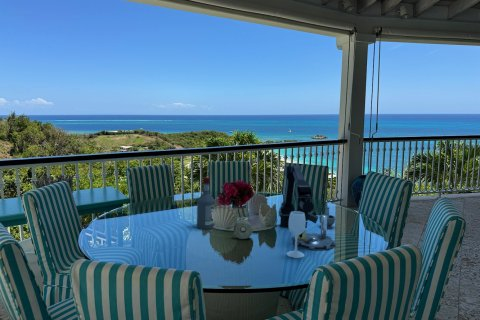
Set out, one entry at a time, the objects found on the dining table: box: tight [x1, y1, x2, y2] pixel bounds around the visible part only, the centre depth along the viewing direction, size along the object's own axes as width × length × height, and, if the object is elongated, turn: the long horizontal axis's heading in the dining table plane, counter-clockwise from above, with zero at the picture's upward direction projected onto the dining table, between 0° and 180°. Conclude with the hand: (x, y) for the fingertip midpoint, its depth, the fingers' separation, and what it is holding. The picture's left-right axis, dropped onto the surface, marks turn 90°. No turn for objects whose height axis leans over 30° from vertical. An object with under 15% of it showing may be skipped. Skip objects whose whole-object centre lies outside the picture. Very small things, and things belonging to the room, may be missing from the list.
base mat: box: [291, 240, 336, 252], centre depth 203 cm, size 22×22×1 cm
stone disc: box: [233, 219, 254, 240], centre depth 207 cm, size 10×4×10 cm, turn 86°
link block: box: [297, 230, 307, 240], centre depth 201 cm, size 5×4×4 cm
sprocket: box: [291, 214, 336, 250], centre depth 202 cm, size 23×23×14 cm
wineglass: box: [286, 211, 307, 259], centre depth 183 cm, size 9×9×21 cm
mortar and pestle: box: [318, 206, 336, 230], centre depth 235 cm, size 11×9×12 cm
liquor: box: [196, 176, 216, 230], centre depth 225 cm, size 9×9×30 cm
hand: (300, 236), depth 201 cm, fingers closed on link block, 3 cm apart
